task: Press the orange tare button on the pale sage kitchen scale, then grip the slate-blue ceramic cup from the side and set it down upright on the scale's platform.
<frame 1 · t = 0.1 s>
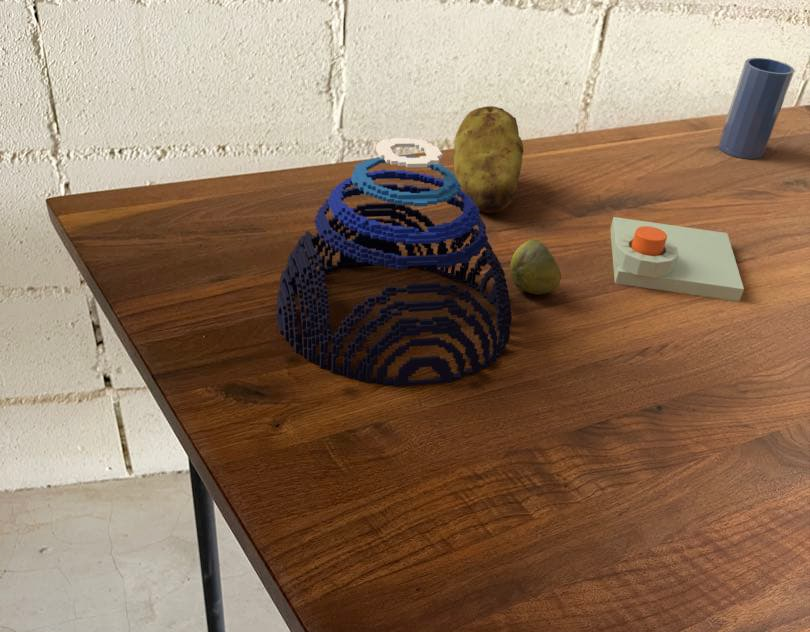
scale: (671, 263, 89), on the table
tare button: (649, 241, 84), point 4 cm above the table, slide at 0.1 cm
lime: (530, 294, 83), on the table
cup: (740, 149, 114), on the table
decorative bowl: (392, 319, 77), on the table
potato: (481, 196, 97), on the table
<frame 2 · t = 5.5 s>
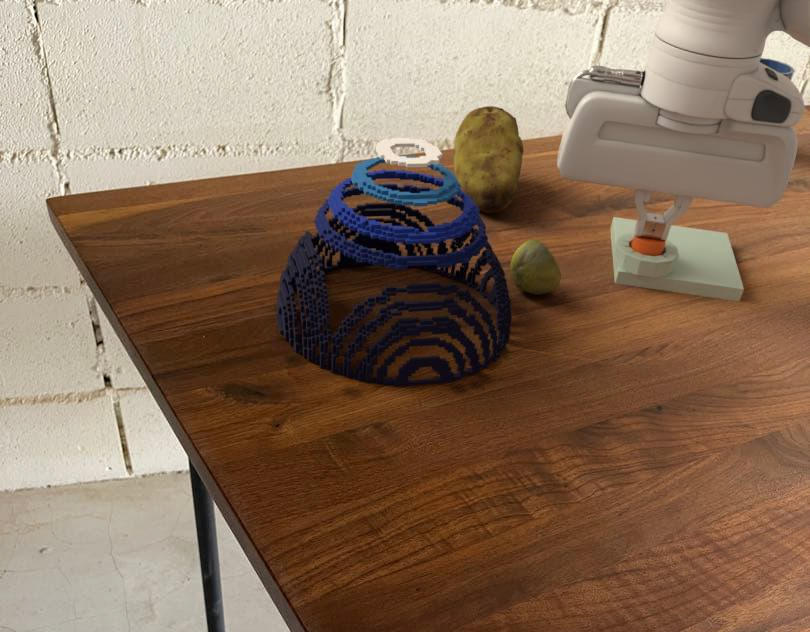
hand: (649, 235, 84), 4 cm above the table, tool pointing down, fingers closed, pressing on tare button
tare button: (648, 244, 85), point 3 cm above the table, slide at -0.2 cm, touching gripper
everything else where it was.
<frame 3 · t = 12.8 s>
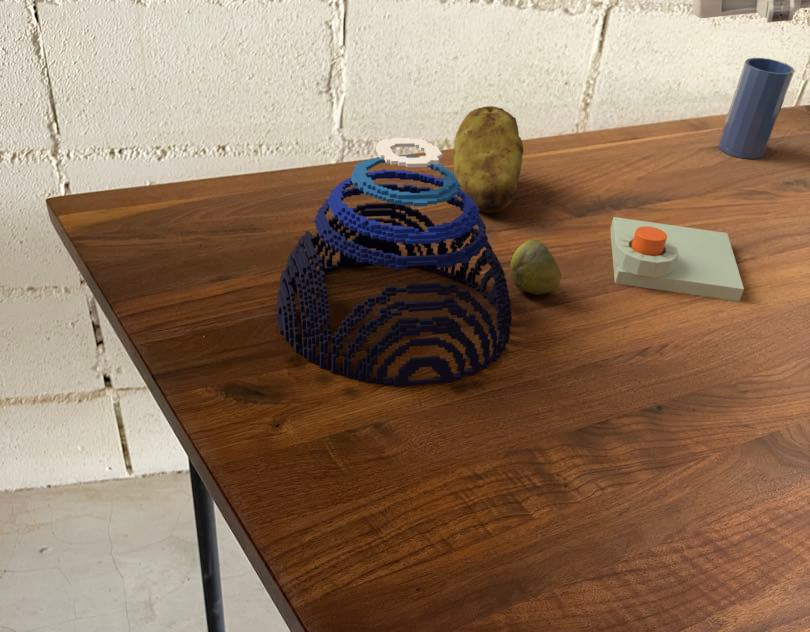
hand: (780, 15, 108), 14 cm above the table, tool horizontal, fingers closed
tare button: (649, 241, 84), point 3 cm above the table, slide at 0.1 cm
everything else where it was.
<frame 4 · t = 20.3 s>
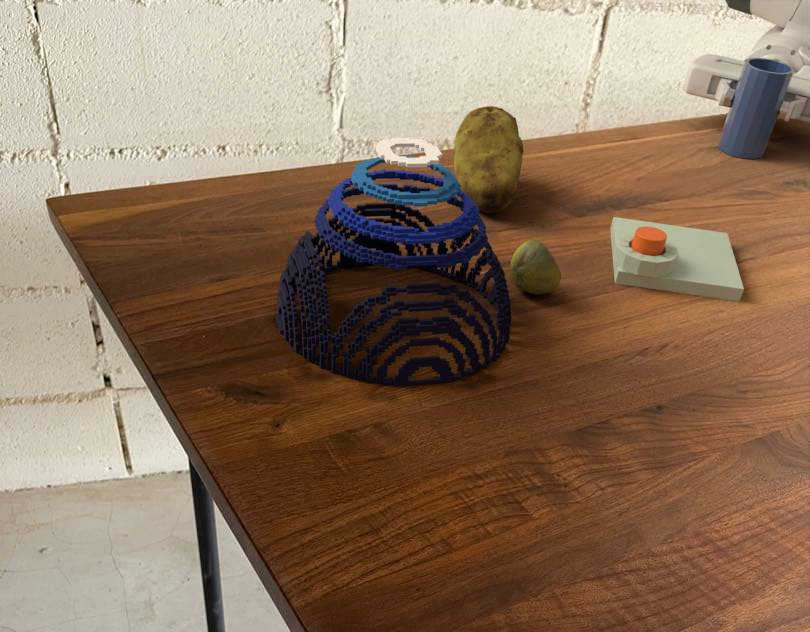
hand: (755, 106, 109), 6 cm above the table, tool horizontal, fingers closed on cup, 6 cm apart
cup: (740, 149, 114), on the table, touching gripper
everything else where it was.
when the fingers open (7 cm above the table, at t = 30.5 s): cup stays where it is, resting on scale.
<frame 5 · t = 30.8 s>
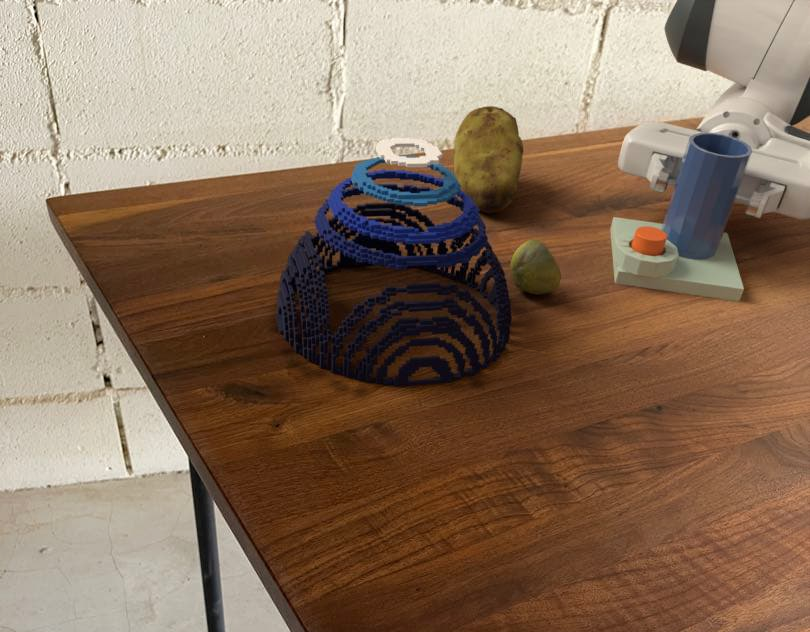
hand: (705, 196, 85), 7 cm above the table, tool horizontal, fingers open, 8 cm apart
cup: (687, 245, 89), point 1 cm above the table, touching scale
everything else where it was.
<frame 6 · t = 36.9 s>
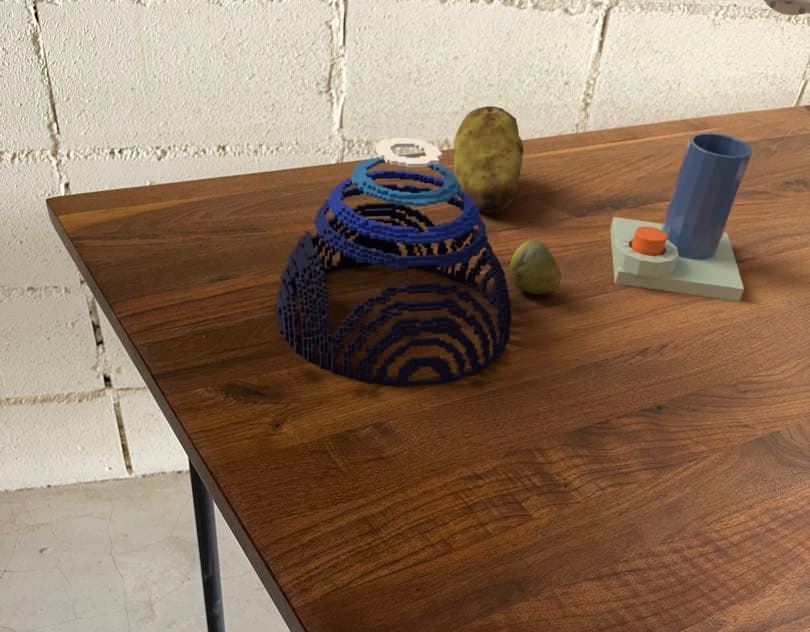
nothing on the table moved.
at the end: tare button pushed in 0.8 cm at the most during the clip, back to where it started at the end; cup inside the target area on the scale (1.4 cm from its centre), point 1.4 cm above the scale's base; cup tilted 0° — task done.
